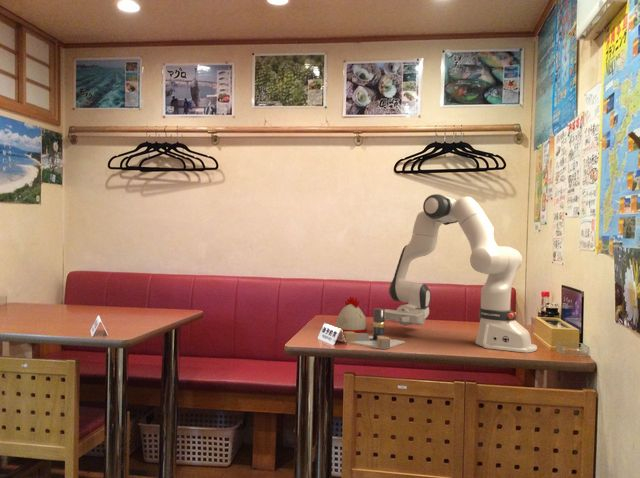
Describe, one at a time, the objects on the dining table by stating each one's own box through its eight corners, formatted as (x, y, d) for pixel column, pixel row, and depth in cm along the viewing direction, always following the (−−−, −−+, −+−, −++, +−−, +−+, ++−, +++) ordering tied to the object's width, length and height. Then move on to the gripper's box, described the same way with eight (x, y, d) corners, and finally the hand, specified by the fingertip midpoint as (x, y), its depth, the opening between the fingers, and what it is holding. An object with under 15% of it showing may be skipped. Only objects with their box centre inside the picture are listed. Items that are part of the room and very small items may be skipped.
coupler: (386, 339, 199) (387, 309, 199) (380, 341, 196) (381, 310, 196) (376, 337, 202) (377, 308, 202) (370, 339, 198) (370, 309, 199)
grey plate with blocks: (408, 343, 196) (408, 333, 196) (386, 350, 183) (386, 340, 183) (357, 335, 211) (357, 326, 211) (334, 341, 197) (334, 331, 197)
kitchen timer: (350, 335, 211) (351, 299, 211) (328, 330, 222) (329, 296, 222) (373, 331, 221) (374, 297, 221) (351, 327, 231) (352, 294, 231)
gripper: (385, 305, 224) (369, 308, 213) (428, 310, 211) (413, 313, 200) (385, 319, 224) (368, 323, 213) (427, 324, 211) (412, 329, 200)
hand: (390, 318), depth 206 cm, fingers open, 8 cm apart
